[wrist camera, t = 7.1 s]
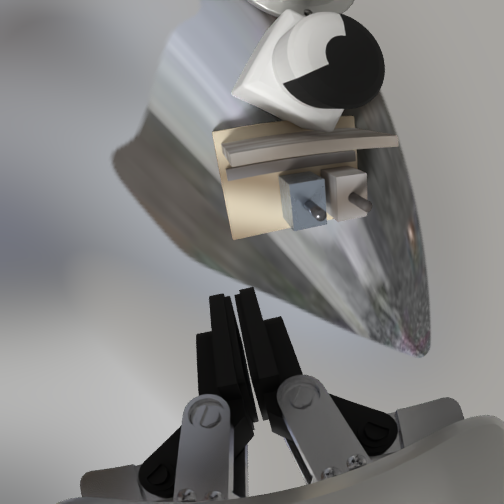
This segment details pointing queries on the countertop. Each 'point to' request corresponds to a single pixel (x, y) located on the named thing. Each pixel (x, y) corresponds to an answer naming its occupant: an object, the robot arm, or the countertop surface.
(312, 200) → the sliding pin
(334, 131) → the board
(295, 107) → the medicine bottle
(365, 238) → the countertop surface
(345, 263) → the countertop surface
